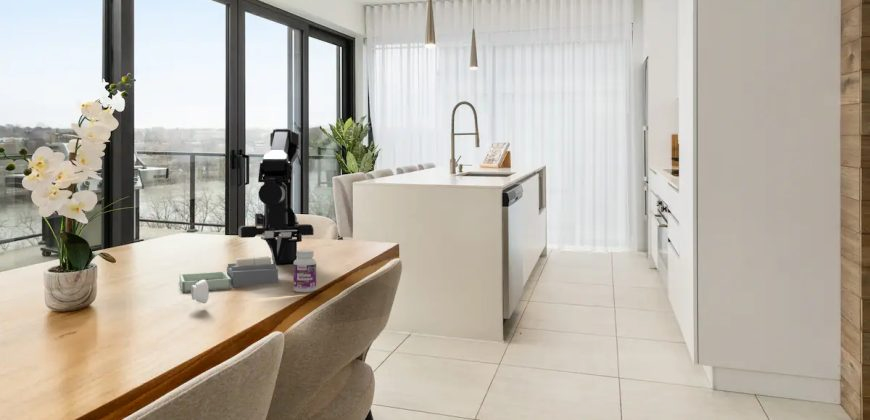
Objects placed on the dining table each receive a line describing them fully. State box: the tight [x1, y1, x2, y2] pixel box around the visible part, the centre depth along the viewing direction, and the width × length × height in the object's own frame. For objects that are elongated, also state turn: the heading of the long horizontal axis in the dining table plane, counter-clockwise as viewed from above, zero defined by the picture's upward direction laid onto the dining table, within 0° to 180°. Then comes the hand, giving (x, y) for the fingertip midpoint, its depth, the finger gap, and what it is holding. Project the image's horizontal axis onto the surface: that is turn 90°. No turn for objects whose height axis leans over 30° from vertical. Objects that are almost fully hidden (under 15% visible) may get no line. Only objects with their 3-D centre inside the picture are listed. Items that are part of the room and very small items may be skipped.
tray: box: [179, 271, 232, 293], centre depth 142 cm, size 11×14×2 cm
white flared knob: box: [190, 280, 210, 304], centre depth 120 cm, size 5×3×5 cm, turn 33°
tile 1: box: [234, 256, 254, 266], centre depth 146 cm, size 4×4×2 cm
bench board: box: [226, 262, 279, 288], centre depth 147 cm, size 11×12×5 cm
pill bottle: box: [292, 249, 317, 293], centre depth 135 cm, size 5×5×10 cm
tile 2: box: [252, 256, 272, 265], centre depth 148 cm, size 4×4×2 cm
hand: (276, 263), depth 149 cm, fingers closed
